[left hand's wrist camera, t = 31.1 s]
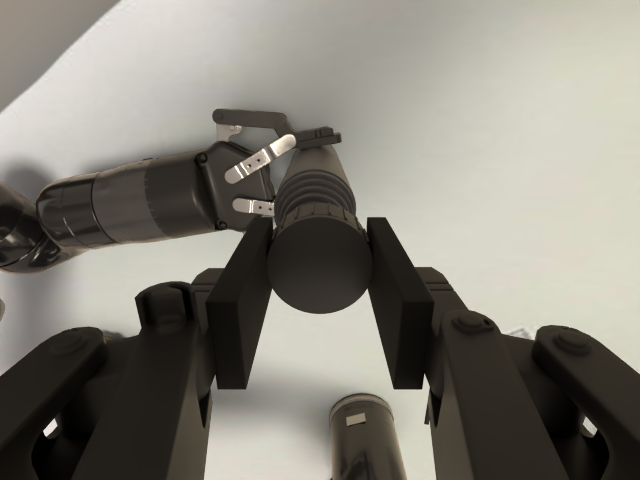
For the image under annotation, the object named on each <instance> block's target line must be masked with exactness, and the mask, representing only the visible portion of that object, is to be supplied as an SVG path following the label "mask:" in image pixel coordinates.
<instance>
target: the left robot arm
mask: <svg viewBox="0 0 640 480" xmlns="http://www.w3.org/2000/svg"><path fill="white" fill-rule="evenodd" d="M272 236H273V219H272V217H254V219H253V221H252V222H251V224H250V226H249V227H248V229H247V231H246V233H245V234H244V236H243V238H242V239H241V241H240V243H239V245H238V246H237V248H236V250H235V251H234V253H233V255H232V257H231V258H230V260H229V262H228V263H227V265H226V267H225V268H208V269H206V270H205V271H203V272H202V273H200V274H199V275H197V276H196V278H195V279H194V281H193V282H192V283H191V284H190V283H186V282H182V281H171V282H165V283H160V284H157V285H154V286H151V287H148V288H147V289H145V290H143V291H141V292H140V293H139V294H138V295H137V296H136V297H135V301H136V306H137V310H138V314H139V319H140V323H141V327H142V328H141V330H140V333H139V335H137V336H133V337H129V338H124V339H118V340H113V341H108V342H106V341H105V338H104V334H103V332H102V331H101V330H100V329H98V328H94V327H78V328H72V329H68V330H65V331H62V332H61V333H59V334H57V335H54V336H52V337H50V338H49V339H47V340H46V341H44V342H42V343H41V344H40V345H38V346H37V347H36V348H35V349H33V350H32V351H31V352H30V353H29V354H27V355H26V356H25V357H24V358H22V359H21V360H20V361H19V362H17V363H16V364H15V365H14V366H13V367H11V368H10V369H9V370H8V371H6V372H5V373H4V374H3V375H1V376H0V480H204V472H205V463H206V454H207V446H208V437H209V428H210V419H211V410H212V397H211V390H210V387H211V384H212V382H213V379H214V376H215V374H216V381H217V388H218V389H246V387H247V383H248V380H249V376H250V372H251V368H252V364H253V360H254V356H255V353H256V349H257V345H258V341H259V337H260V333H261V329H262V326H263V322H264V318H265V314H266V310H267V306H268V303H269V299H270V295H271V291H272V286H271V285H270V282H269V280H268V272H267V254H268V251H269V248H270V245H271V242H272V241H271V238H272ZM367 236H368V238H369V241H370V243H369V246H370V248H371V251H372V255H373V269H372V279H371V282H370V284H369V286H368V292H369V296H370V300H371V303H372V307H373V311H374V315H375V319H376V323H377V326H378V330H379V334H380V338H381V342H382V346H383V350H384V353H385V357H386V361H387V365H388V369H389V373H390V377H391V380H392V384H393V388H394V389H422V386H423V379H424V373H425V375H426V378H427V380H428V383H429V386H430V390H429V397H428V403H427V409H426V416H425V422H424V424H428V425H429V421H430V427H431V436H432V445H433V454H434V463H435V471H436V480H640V374H639V373H638V372H636V371H635V370H634V369H633V368H631V367H630V366H629V365H628V364H626V363H625V362H624V361H623V360H621V359H620V358H619V357H618V356H616V355H615V354H614V353H613V352H611V351H610V350H609V349H608V348H606V347H605V346H604V345H603V344H602V343H600V342H599V341H597V340H596V339H594V338H593V337H591V336H589V335H587V334H585V333H583V332H580V331H579V330H577V329H574V328H571V327H570V328H569V327H566V326H556V325H549V326H543V327H541V328H540V329H539V330H537V333H536V337H535V340H529V339H524V338H519V337H514V336H509V335H505V334H501V332H500V330H499V328H498V326H497V325H496V324H495V323H494V321H492V320H491V319H489V318H488V317H486V316H485V315H482V314H480V313H477V312H475V311H470V310H468V308H467V307H466V306H465V304H464V303H463V301H462V300H461V299H460V297H459V296H458V295H457V293H456V292H455V291H454V289H453V288H452V286H451V285H450V284H449V282H448V281H447V279H446V278H445V277H444V275H443V274H442V273H440V272H438V271H437V270H435V269H434V268H432V267H414V266H413V264H412V262H411V260H410V259H409V257H408V255H407V254H406V252H405V250H404V248H403V247H402V245H401V243H400V241H399V240H398V238H397V236H396V235H395V233H394V231H393V229H392V228H391V226H390V224H389V223H388V221H387V219H386V217H367ZM585 417H587V418H588V419H589V420H590V421H591V422H592V423H593V425H594V426H595V427H596V428H597V432H596V434H595V435H592V434H591V433H590V432H589V431H588V430H587V429H586V428H585V427H584V425H583V422H584V419H585ZM54 418H55V420H56V423H57V425H58V426H57V427H56V428H55V429H54V431H53V432H52V433H51V434H49V435H48V436H47V437H46V436H45V435H44V433H43V430H44V429H45V428H46V427H47V426H48V425H49V424H50V422H51V421H52V420H53V419H54Z"/></svg>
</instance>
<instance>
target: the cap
mask: <svg viewBox="0 0 640 480" xmlns="http://www.w3.org/2000/svg"><path fill="white" fill-rule="evenodd" d="M271 241H272V242H271V245H270V248H269V251H268V254H267V272H268V280H269V282H270V285H271V286H272V288H273V290H274V291H275V293H276V294H277V295H278V296H279V297H280V298H281V299H282V300H283V301H284V302H285V303H287V304H288V305H290V306H291V307H293V308H295V309H298V310H300V311H303V312H308V313H314V314H326V313H332V312H336V311H339V310H342V309H344V308H346V307H348V306H350V305H352V304H353V303H354V302H356V301H357V300H358V299H359V298H360V297H361V296H362V295H363V294H364V292H365V291H366V289H367V288H368V286H369V284H370V282H371V279H372V269H373V255H372V251H371V248H370V246H369V243H370V241H369V238H368V236H367V233H366V230H365V228H364V229H363V227H362V226H361V224H360V223H359V221H358V219H357V217H354V216H353V215H352V214H351V213H349V212H348V211H347V210H345V208H344V207H343V208H341V207H338V206H336V205H332V204H330V203H329V202H328V204H327V203H314V202H312V204H308V205H304V206H301V207H299V206H298V207H297V208H296V209H295V210H293V211H292V212H290V213H289V214H288V215H287V216H286V215H285V216H284V218H283V220H282V221H281V222H280V224H279V225H278V227H276V228H275V230H274V233H273V236H272V238H271Z"/></svg>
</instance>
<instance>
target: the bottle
mask: <svg viewBox="0 0 640 480" xmlns="http://www.w3.org/2000/svg"><path fill="white" fill-rule="evenodd" d="M312 202H314V203H327V204H328V202H329V203H330V204H332V205H336V206H338V207H341V208H343V207H344V208H345V210H347V211H348V212H349V213H351V214H352V215H353V216H354V217H355V216H356V202H355V198H354V195H353V192H352V190H351V187H350V185H349V183H348V180H347V178H346V175H345V173H344V170H343V168H342V166H341V163H340V161H339V158H338V156H337V154H336V151H335V150H334V148H333V147H332V146H331V145H324V146H319V147H312V148H307V149H302V150H299V148H298V149H297V151H296V153H295V155H294V157H293V159H292V161H291V164H290V166H289V168H288V170H287V172H286V174H285V177H284V179H283V181H282V183H281V185H280V188H279V190H278V192H277V194H276V197H275V201H274V218H275V223H276V226H277V227H278V225H279V224H280V222H281V221H282V220H283V218H284V216H285V215H286V216H287V215H288V214H289V213H290V212H292V211H293V210H295V209H296V208H297V207H298V206H299V207H301V206H304V205H308V204H312Z"/></svg>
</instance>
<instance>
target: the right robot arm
mask: <svg viewBox="0 0 640 480" xmlns="http://www.w3.org/2000/svg"><path fill="white" fill-rule="evenodd" d="M212 117H213V120H214V121H215V122H216V123H217V142H215V143H214V144H213V145H212V146H211V147H209V148H208V149H204V150H198V151H193V152H188V153H182V154H177V155H171V156H166V157H161V158H155V159H154V158H149V159H144V160H142V161H139V162H133V163H128V164H125V165H122V166H119V167H116V168H113V169H110V170H105V171H100V172H95V173H90V174H84V175H79V176H73V177H68V178H64V179H60V180H57V181H54V182H52V183H50V184H48V185H47V186H45V187H44V188H43V189H42V190H41V192H40V193H39V195H38V198H37V201H36V205H35V204H34V203H32V202H31V201H29V200H28V199H26V198H25V197H23V196H22V195H20V194H19V193H17V192H16V191H14V190H13V189H11V188H10V187H8V186H7V185H5V184H4V183H2V182H0V271H2V272H5V273H10V274H35V273H40V272H43V271H46V270H49V269H51V268H53V267H55V266H57V265H59V264H61V263H64V262H66V261H68V260H70V259H73V258H75V257H77V256H79V255H81V254H83V253H85V252H87V251H89V250H92V249H100V248H106V247H111V246H117V245H123V244H131V243H150V242H157V241H163V240H169V239H175V238H181V237H187V236H192V235H198V234H204V233H210V232H216V231H222V230H235V231H238V232H243V234H245V233H246V231H247V229H248V227H249V226H250V224H251V222H252V221H253V219H254V217H262V216H263V215H269V216H274V200H275V197H276V194H275V191H274V187H273V185H272V183H271V181H270V169H269V164H268V163H269V162H271V161H273V160H274V159H275V158H277V157H279V156H280V155H282V154H284V153H285V152H287V151H289V150H290V149H293V148H298V147H299V150H302V149H307V148H312V147H319V146H324V145H330V144H335V143H340V142H342V140H341V134H340V133H333V129H332V128H330V127H321V128H316V129H311V130H305V131H295V130H293V129H292V127H291V126H290V124H289V122H288V121H287V117H286V116H285V115H284V114H283V113H276V112H263V111H250V110H237V109H216V110H215V111H214V112H213V115H212ZM243 126H248V127H261V128H274V129H275V131H276V133H277V134H278V136H279V139H277V140H276V141H274V142H272V143H270V144H269V145H267V146H265V147H264V148H262V149H261V150H259V151H257V152H256V153H254V152H252V151H250V150H248V149H246V148H244V147H242V146H240V145H238V144H236V143H234V142H232V141H230V139H231V136H232V135H236V134H239V133H241V132H242V130H243ZM270 208H271V209H270ZM274 230H275V229H274ZM274 230H273V233H274ZM4 312H5V304H4V302H3V301H2V300H1V299H0V321H1V319H2V317H3V315H4ZM330 430H331V453H332V476H333V479H332V480H407V476H406V472H405V468H404V464H403V460H402V456H401V451H400V447H399V443H398V439H397V434H396V430H395V426H394V419H393V415H392V411H391V409H390V407H389V405H388V404H387V403H386V402H385V401H383V400H382V399H380V398H378V397H375V396H372V395H364V394H362V395H353V396H350V397H347V398H345V399H343V400H341V401H340V402H338V403H337V404H336V405H335V406H334V407H333V409H332V411H331V413H330Z"/></svg>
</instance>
